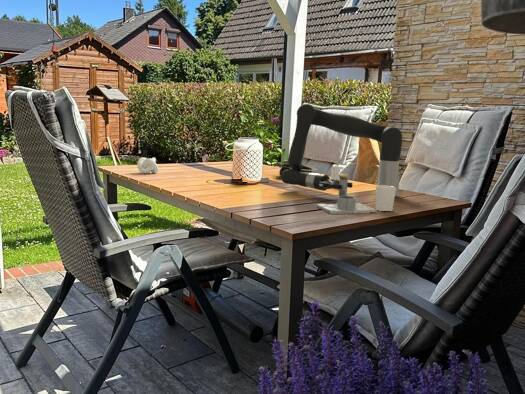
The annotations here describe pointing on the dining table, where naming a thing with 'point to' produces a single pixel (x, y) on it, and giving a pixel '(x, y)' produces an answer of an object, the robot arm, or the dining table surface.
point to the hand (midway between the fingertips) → (346, 186)
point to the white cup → (385, 197)
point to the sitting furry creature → (335, 172)
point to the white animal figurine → (147, 165)
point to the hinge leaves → (345, 206)
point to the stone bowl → (287, 166)
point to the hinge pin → (343, 184)
